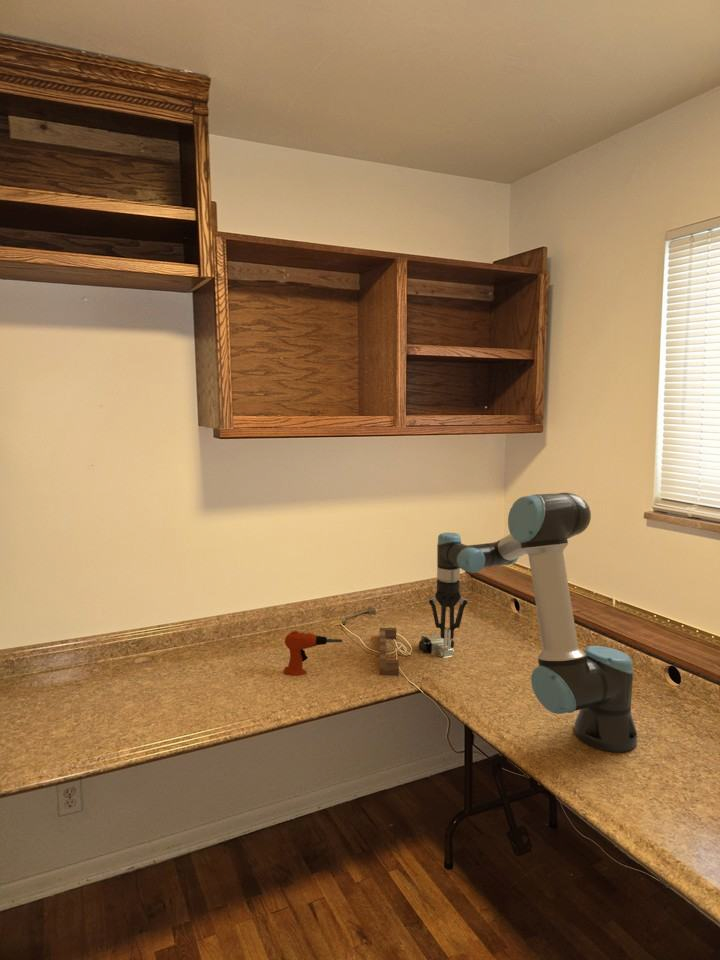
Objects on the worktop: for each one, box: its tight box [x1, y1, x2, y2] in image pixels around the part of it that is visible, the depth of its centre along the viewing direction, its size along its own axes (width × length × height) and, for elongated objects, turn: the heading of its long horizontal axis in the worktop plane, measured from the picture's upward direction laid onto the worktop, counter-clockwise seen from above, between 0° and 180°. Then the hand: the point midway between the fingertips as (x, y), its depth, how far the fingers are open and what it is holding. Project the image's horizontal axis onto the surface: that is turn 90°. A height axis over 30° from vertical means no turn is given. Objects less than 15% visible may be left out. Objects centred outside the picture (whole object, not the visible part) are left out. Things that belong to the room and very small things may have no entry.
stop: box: [379, 627, 400, 677], centre depth 202 cm, size 30×6×5 cm, turn 178°
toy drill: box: [283, 630, 343, 677], centre depth 187 cm, size 5×19×15 cm, turn 87°
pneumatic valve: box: [418, 632, 455, 659], centre depth 206 cm, size 6×12×12 cm
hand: (446, 647), depth 201 cm, fingers closed
